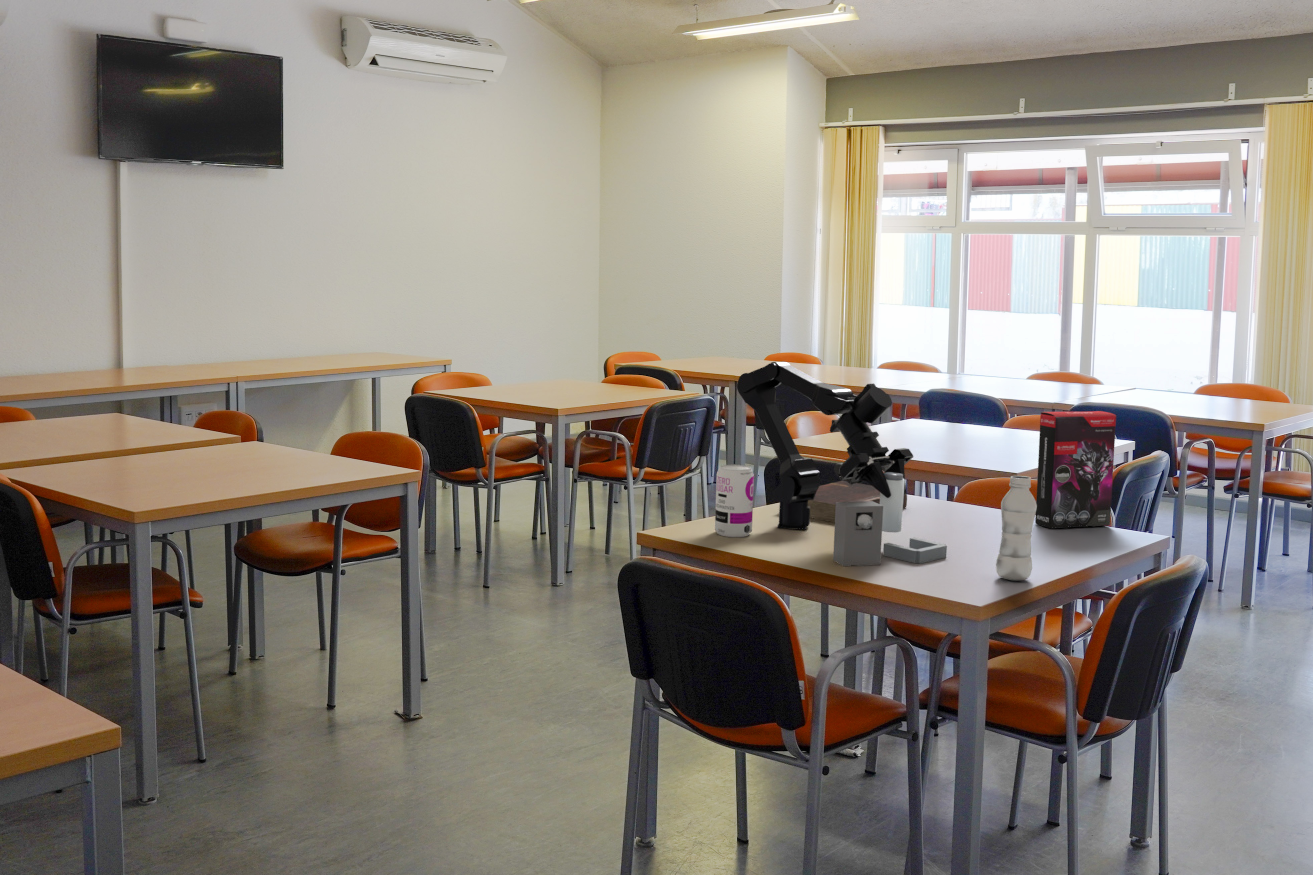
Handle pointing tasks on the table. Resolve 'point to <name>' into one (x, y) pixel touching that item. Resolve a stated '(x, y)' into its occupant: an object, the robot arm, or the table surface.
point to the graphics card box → (1075, 469)
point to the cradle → (916, 551)
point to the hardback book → (841, 498)
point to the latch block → (857, 534)
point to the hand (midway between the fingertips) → (897, 495)
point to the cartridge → (893, 503)
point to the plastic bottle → (1016, 530)
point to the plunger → (863, 520)
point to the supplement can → (734, 500)
